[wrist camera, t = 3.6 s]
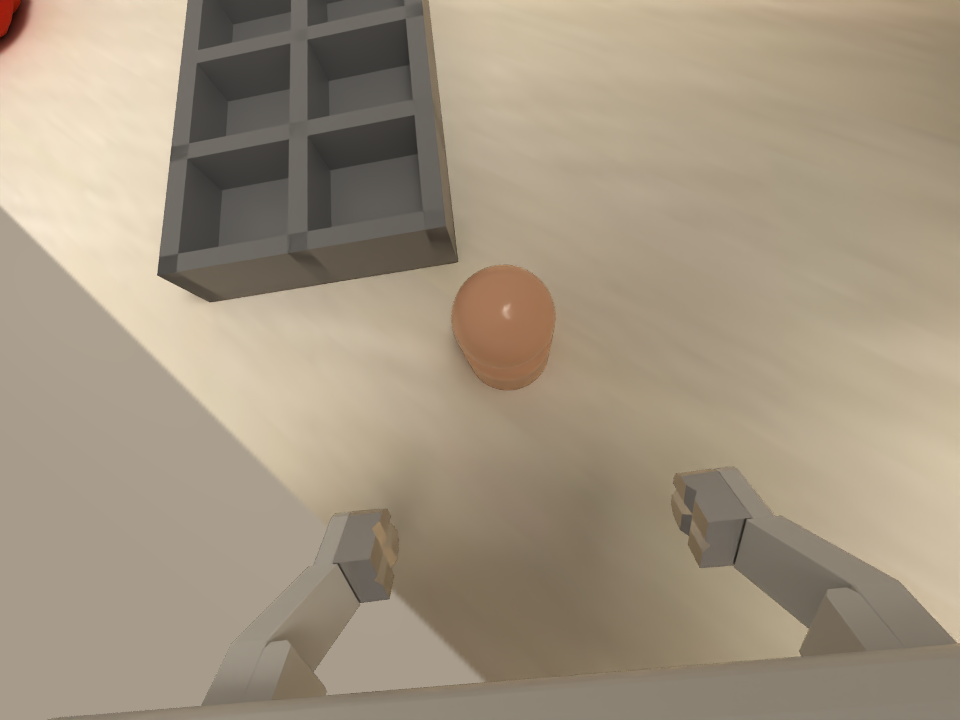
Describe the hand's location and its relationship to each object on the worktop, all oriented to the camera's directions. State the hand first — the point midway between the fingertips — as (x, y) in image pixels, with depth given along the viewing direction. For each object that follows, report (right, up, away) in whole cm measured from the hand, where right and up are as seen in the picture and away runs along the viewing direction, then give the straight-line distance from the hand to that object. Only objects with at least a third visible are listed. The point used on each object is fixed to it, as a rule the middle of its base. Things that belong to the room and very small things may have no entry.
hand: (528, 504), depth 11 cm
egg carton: (-13, +21, +18) cm, 31 cm away
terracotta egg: (0, +5, +12) cm, 13 cm away
